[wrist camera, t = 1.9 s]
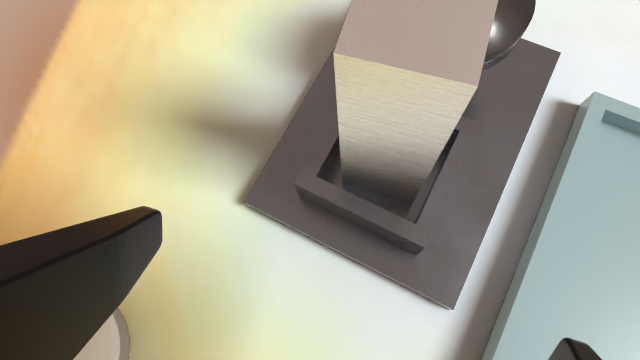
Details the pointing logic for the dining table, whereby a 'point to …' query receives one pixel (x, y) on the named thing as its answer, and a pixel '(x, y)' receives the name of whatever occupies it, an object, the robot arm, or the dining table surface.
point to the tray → (582, 247)
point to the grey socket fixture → (441, 184)
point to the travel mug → (108, 341)
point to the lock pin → (404, 89)
